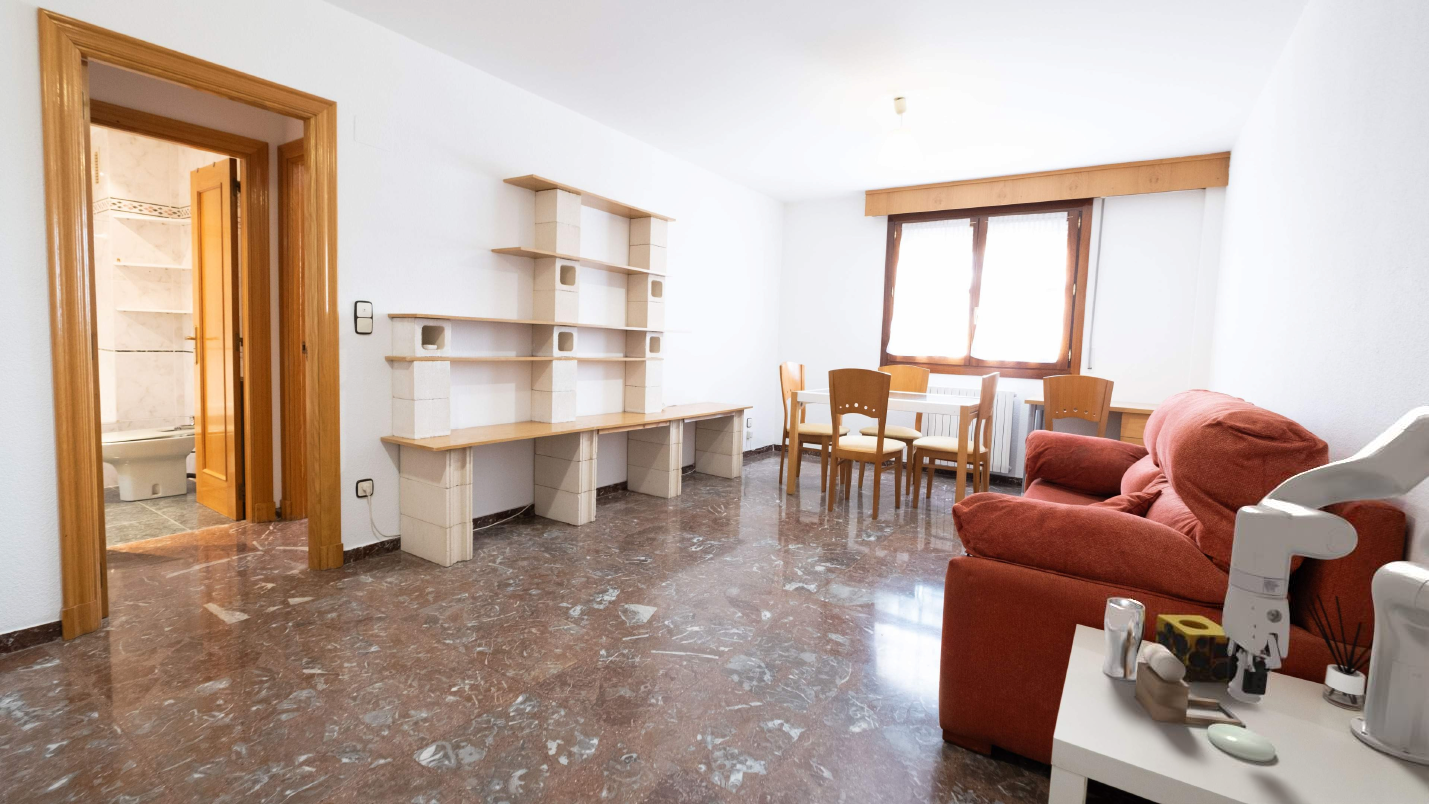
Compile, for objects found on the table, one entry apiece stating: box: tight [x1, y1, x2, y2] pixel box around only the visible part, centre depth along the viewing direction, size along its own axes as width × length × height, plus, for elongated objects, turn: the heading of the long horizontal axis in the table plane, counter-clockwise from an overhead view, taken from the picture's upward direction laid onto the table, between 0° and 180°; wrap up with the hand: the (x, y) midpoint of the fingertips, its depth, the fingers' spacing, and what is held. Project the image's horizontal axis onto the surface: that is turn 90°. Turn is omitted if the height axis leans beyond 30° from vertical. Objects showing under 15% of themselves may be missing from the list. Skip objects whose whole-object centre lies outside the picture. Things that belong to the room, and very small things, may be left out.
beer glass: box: [1102, 596, 1146, 682], centre depth 135 cm, size 7×7×15 cm
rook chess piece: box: [1227, 648, 1262, 704], centre depth 111 cm, size 4×4×8 cm
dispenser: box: [1134, 643, 1247, 729], centre depth 121 cm, size 15×8×11 cm, turn 80°
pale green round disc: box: [1206, 724, 1276, 763], centre depth 112 cm, size 9×9×1 cm
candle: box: [1155, 614, 1232, 683], centre depth 137 cm, size 10×10×10 cm
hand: (1245, 685), depth 111 cm, fingers closed on rook chess piece, 3 cm apart
